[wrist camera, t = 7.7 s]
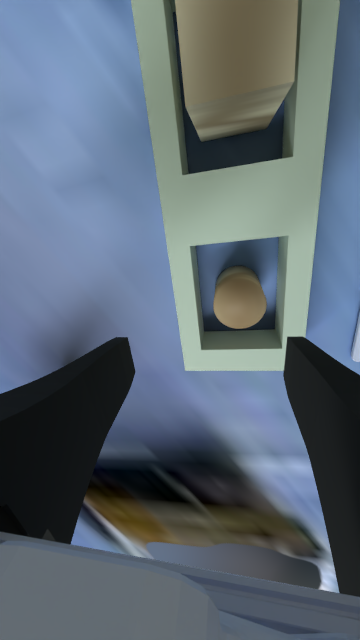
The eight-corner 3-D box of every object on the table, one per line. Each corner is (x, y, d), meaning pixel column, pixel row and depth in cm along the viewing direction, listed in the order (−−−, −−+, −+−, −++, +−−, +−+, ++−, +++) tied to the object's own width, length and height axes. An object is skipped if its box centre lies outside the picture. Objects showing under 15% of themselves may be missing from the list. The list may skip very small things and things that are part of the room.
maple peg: (267, 38, 13) (303, -99, 7) (266, 129, 15) (294, 81, 9) (194, 58, 14) (169, -49, 8) (201, 142, 16) (185, 106, 10)
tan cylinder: (259, 263, 19) (267, 279, 15) (259, 304, 20) (266, 327, 16) (214, 267, 19) (211, 283, 16) (217, 307, 21) (215, 329, 17)
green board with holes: (327, -102, 11) (360, -196, 8) (292, 349, 21) (301, 370, 19) (139, -34, 13) (117, -93, 10) (190, 350, 23) (185, 370, 20)
